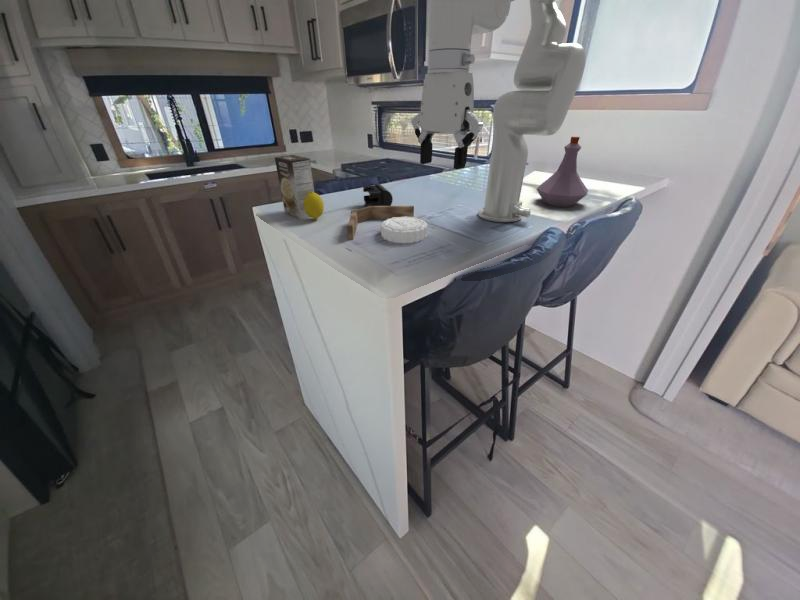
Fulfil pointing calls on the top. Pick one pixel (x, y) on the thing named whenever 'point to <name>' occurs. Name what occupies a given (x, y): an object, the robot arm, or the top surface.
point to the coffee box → (294, 183)
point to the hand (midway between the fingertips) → (442, 165)
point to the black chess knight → (377, 196)
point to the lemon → (313, 205)
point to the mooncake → (404, 229)
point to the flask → (564, 180)
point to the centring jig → (376, 215)
